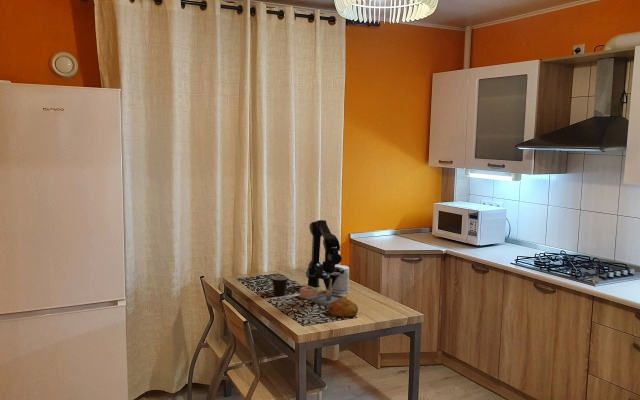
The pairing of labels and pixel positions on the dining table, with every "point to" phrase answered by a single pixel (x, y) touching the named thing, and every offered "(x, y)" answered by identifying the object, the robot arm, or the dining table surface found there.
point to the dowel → (329, 291)
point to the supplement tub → (342, 281)
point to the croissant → (343, 308)
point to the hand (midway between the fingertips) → (329, 288)
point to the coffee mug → (279, 285)
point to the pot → (308, 292)
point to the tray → (324, 301)
